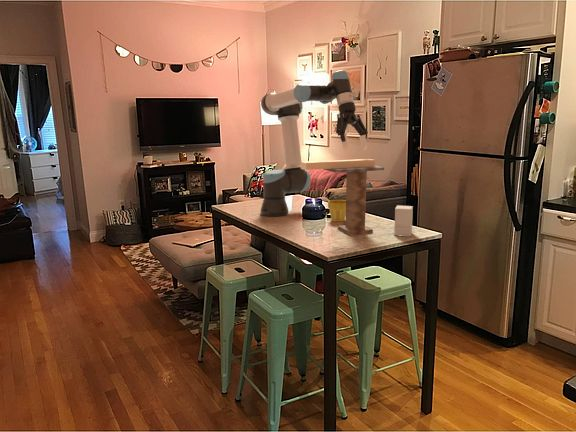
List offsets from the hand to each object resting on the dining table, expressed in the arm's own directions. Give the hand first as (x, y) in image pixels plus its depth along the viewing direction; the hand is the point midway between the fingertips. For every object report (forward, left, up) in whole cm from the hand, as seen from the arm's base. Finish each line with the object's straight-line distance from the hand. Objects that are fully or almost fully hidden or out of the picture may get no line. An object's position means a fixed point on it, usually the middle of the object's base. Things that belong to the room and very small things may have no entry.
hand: (355, 149), depth 219 cm
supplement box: (+21, -8, -38) cm, 44 cm away
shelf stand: (-2, -3, -38) cm, 38 cm away
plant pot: (-6, +20, -38) cm, 43 cm away
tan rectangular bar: (-8, -6, -8) cm, 13 cm away
